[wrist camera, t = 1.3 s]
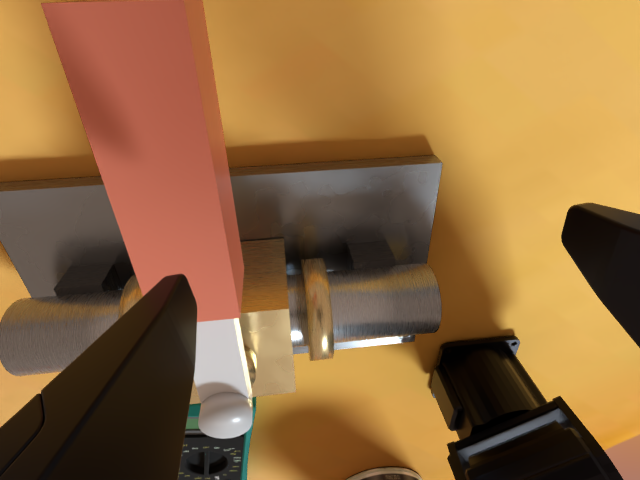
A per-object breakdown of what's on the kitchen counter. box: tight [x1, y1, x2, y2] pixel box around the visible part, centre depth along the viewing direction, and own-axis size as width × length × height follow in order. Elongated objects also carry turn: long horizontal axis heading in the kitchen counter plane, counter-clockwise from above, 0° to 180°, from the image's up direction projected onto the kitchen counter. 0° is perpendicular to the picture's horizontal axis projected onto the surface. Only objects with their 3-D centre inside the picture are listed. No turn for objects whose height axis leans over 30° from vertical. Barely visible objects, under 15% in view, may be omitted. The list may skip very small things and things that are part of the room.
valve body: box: [0, 155, 442, 404], centre depth 22 cm, size 24×14×8 cm, turn 91°
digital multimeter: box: [178, 397, 256, 480], centre depth 34 cm, size 7×15×3 cm, turn 171°
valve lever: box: [41, 0, 253, 439], centre depth 13 cm, size 16×3×3 cm, turn 1°
